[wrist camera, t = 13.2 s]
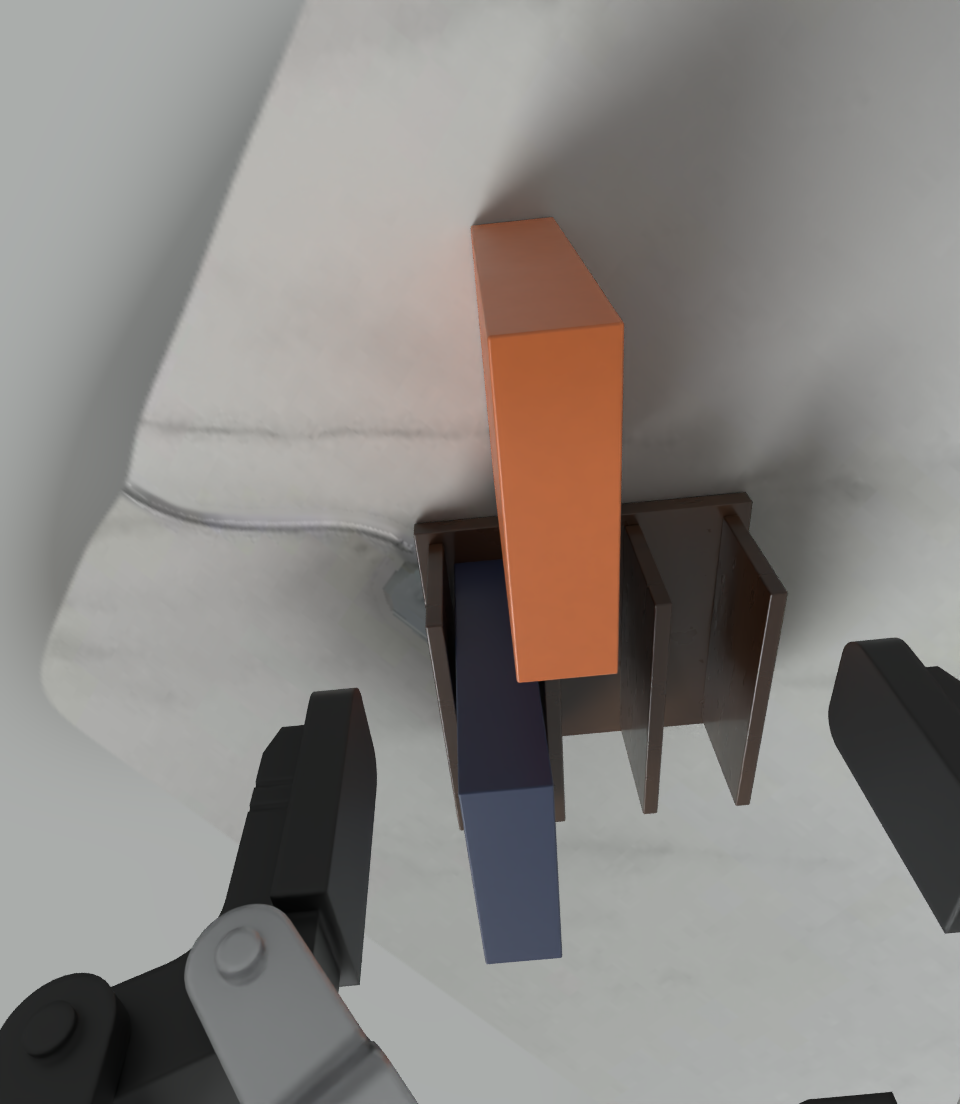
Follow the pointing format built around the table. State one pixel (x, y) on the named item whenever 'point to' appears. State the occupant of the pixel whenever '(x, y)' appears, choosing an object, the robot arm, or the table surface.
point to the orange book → (553, 445)
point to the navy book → (503, 777)
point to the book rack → (643, 638)
